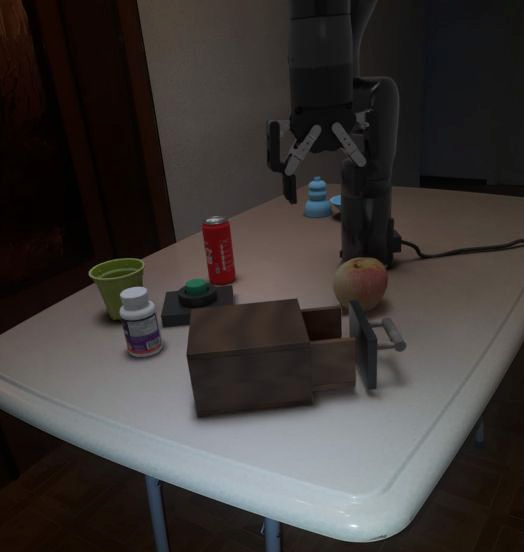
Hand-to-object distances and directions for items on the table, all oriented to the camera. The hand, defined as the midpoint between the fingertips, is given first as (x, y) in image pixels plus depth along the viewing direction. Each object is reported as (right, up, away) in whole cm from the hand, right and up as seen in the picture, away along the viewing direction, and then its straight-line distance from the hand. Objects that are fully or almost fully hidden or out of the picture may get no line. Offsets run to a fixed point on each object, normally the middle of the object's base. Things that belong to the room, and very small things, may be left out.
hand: (324, 199), depth 74 cm
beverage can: (-16, -7, +35) cm, 39 cm away
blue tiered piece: (+11, +13, +65) cm, 68 cm away
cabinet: (-9, -25, +1) cm, 26 cm away
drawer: (+1, -23, +1) cm, 23 cm away
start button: (-19, -10, +21) cm, 31 cm away
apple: (+8, -13, +19) cm, 25 cm away
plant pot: (-32, -14, +25) cm, 43 cm away
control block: (-19, -13, +23) cm, 33 cm away
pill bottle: (-26, -20, +13) cm, 35 cm away
